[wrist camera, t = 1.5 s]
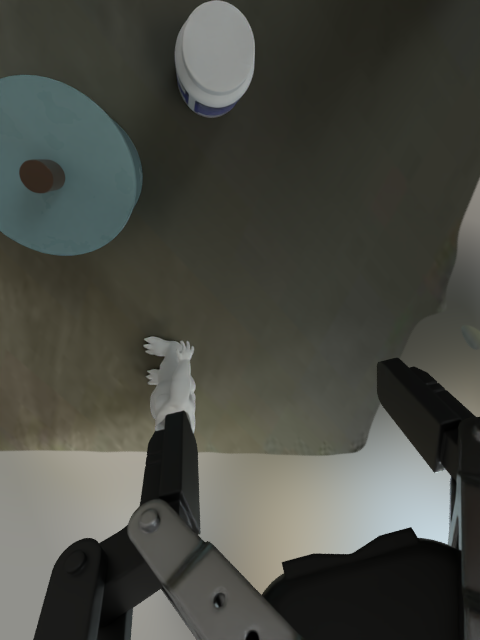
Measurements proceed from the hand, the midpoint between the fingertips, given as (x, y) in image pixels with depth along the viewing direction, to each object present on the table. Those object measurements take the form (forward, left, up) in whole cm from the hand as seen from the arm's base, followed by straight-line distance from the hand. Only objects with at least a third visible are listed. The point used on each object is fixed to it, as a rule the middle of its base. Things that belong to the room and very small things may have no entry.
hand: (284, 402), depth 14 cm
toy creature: (+15, +4, -26) cm, 30 cm away
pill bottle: (-11, -11, -26) cm, 30 cm away
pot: (+3, -15, -26) cm, 30 cm away
